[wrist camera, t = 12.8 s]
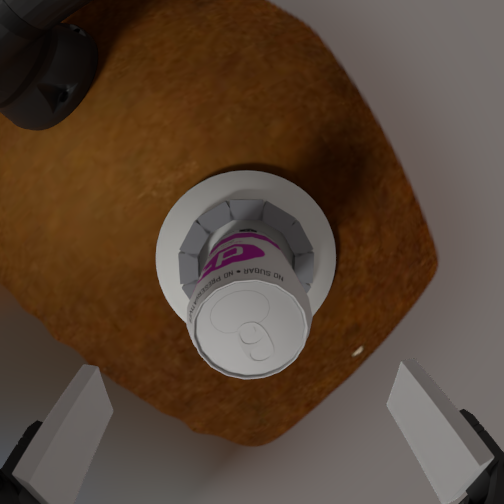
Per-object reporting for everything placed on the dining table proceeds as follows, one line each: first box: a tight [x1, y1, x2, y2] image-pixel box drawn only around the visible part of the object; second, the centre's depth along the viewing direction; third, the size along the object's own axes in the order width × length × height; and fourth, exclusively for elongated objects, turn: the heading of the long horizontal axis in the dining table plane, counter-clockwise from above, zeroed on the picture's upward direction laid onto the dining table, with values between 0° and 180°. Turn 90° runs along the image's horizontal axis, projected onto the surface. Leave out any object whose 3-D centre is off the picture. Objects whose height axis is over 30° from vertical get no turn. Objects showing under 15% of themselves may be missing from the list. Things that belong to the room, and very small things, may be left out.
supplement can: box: [187, 228, 312, 379], centre depth 24 cm, size 8×8×15 cm
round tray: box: [156, 170, 336, 323], centre depth 31 cm, size 20×20×3 cm
